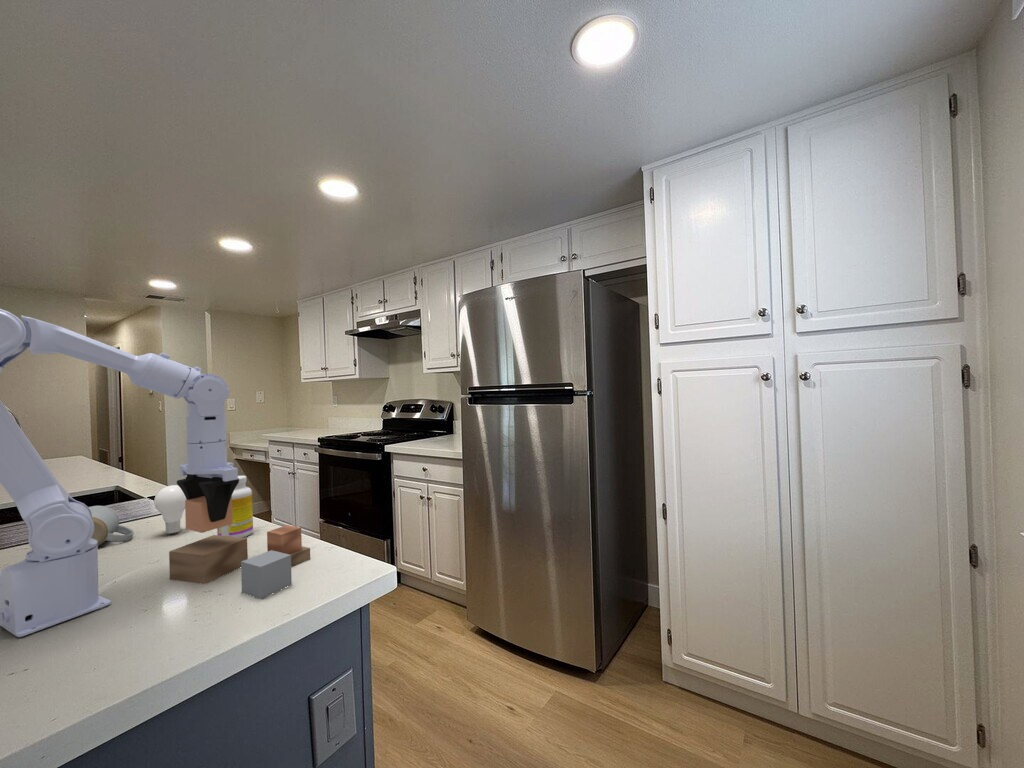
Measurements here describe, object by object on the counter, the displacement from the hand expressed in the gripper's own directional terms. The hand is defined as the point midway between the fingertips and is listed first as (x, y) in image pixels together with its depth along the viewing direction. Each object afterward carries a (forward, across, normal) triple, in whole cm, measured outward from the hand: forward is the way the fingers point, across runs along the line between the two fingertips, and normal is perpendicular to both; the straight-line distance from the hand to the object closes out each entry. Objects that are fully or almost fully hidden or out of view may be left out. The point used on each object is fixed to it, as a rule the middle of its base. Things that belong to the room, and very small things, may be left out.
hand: (208, 518), depth 75 cm
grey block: (+10, -16, 0) cm, 19 cm away
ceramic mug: (+10, +38, +2) cm, 39 cm away
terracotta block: (+1, 0, 0) cm, 1 cm away
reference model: (+9, -9, -8) cm, 15 cm away
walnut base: (+10, 0, 0) cm, 10 cm away
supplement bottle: (+10, +15, -13) cm, 22 cm away
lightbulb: (+10, +30, -8) cm, 33 cm away
